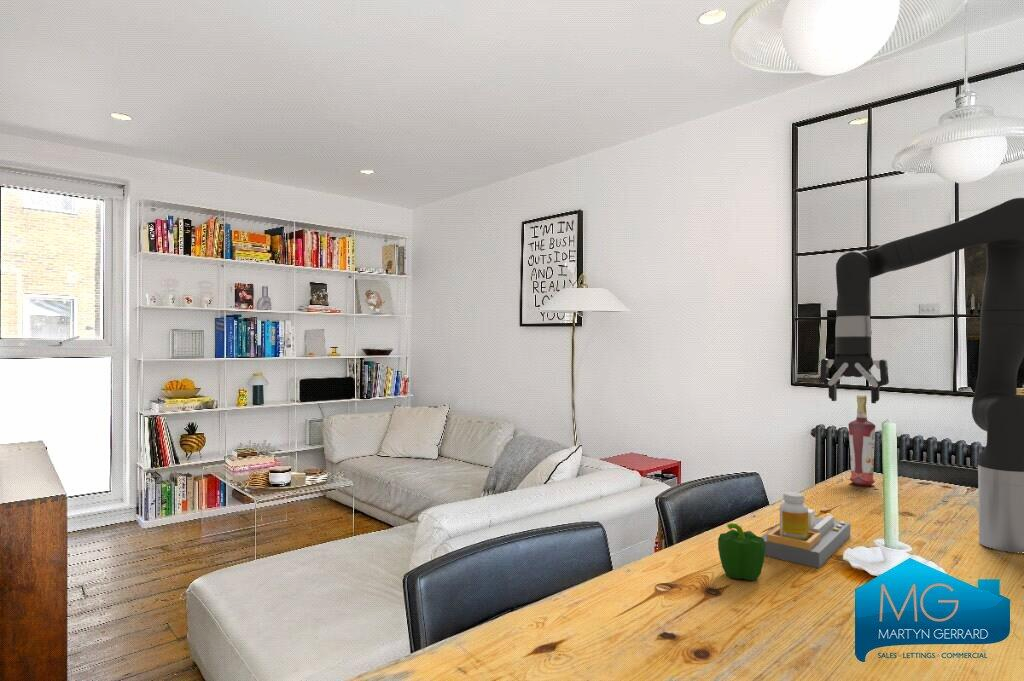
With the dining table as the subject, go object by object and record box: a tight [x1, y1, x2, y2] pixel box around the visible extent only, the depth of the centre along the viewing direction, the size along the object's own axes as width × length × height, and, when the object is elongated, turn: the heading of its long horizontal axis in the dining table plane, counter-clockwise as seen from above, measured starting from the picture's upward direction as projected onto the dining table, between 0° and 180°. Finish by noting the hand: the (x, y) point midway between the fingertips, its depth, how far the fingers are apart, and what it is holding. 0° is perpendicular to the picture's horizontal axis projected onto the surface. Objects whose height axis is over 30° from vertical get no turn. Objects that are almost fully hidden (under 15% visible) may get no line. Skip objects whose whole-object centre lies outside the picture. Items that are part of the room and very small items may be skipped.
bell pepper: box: [717, 522, 766, 581], centre depth 112 cm, size 8×8×10 cm
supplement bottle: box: [779, 491, 809, 541], centre depth 124 cm, size 5×5×10 cm
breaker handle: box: [808, 508, 816, 532], centre depth 128 cm, size 4×3×5 cm
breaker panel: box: [760, 514, 851, 569], centre depth 130 cm, size 12×26×5 cm, turn 138°
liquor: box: [848, 394, 876, 487], centre depth 186 cm, size 7×7×28 cm
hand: (853, 402), depth 143 cm, fingers open, 8 cm apart
